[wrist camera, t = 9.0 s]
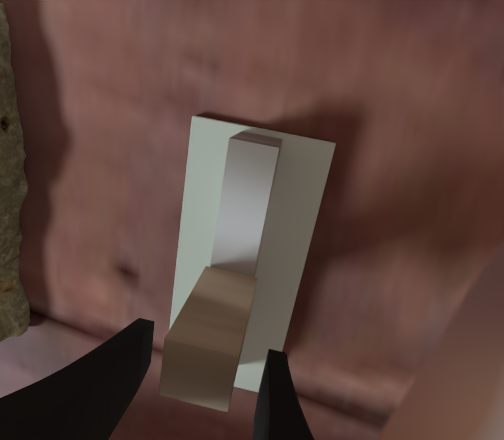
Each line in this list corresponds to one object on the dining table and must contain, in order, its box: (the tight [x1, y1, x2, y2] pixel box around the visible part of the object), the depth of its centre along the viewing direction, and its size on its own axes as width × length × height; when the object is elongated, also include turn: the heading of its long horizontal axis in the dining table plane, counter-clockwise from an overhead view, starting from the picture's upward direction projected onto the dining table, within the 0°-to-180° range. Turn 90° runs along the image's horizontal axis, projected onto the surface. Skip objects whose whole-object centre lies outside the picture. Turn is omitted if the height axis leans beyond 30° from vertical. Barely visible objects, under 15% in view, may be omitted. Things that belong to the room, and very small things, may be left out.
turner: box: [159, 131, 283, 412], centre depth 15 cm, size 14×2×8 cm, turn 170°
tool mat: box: [169, 116, 336, 392], centre depth 19 cm, size 16×7×1 cm, turn 170°
